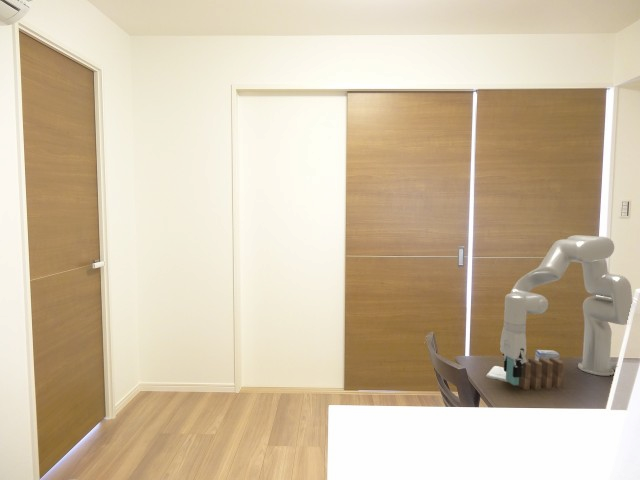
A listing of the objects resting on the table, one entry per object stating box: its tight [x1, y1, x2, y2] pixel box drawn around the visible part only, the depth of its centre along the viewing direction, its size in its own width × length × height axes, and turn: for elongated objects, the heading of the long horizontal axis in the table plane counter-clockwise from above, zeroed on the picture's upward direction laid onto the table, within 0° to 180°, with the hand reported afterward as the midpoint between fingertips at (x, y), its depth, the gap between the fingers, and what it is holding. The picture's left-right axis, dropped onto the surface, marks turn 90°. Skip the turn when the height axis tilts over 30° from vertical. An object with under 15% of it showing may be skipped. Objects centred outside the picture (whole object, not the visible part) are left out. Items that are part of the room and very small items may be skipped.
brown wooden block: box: [527, 358, 542, 390], centre depth 155 cm, size 2×5×10 cm, turn 7°
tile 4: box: [517, 361, 531, 391], centre depth 154 cm, size 2×5×10 cm, turn 7°
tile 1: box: [550, 358, 564, 389], centre depth 156 cm, size 2×5×10 cm, turn 7°
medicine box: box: [534, 349, 561, 362], centre depth 170 cm, size 8×4×9 cm, turn 84°
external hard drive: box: [486, 365, 509, 383], centre depth 166 cm, size 2×8×12 cm
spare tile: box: [506, 356, 519, 386], centre depth 153 cm, size 2×5×10 cm, turn 7°
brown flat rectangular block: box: [539, 358, 553, 390], centre depth 155 cm, size 2×5×10 cm, turn 8°
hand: (512, 373), depth 153 cm, fingers closed on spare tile, 4 cm apart
